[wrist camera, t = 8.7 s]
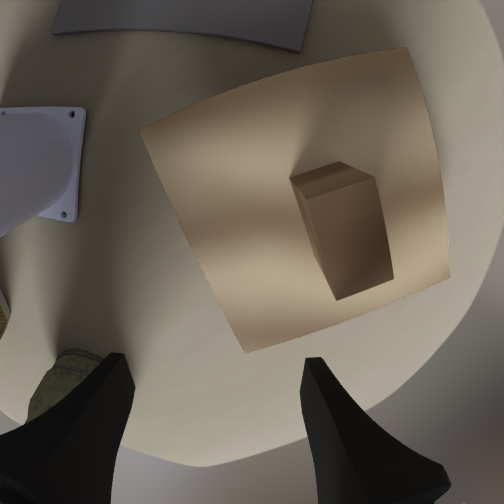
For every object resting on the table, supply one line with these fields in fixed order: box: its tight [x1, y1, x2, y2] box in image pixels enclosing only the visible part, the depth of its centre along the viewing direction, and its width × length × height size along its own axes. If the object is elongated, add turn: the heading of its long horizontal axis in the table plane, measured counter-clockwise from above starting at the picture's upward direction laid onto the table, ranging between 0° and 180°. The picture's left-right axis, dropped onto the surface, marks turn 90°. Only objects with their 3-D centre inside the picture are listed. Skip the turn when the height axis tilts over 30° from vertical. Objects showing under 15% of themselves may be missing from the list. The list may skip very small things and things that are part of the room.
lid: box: [139, 47, 450, 353], centre depth 12 cm, size 13×13×5 cm
